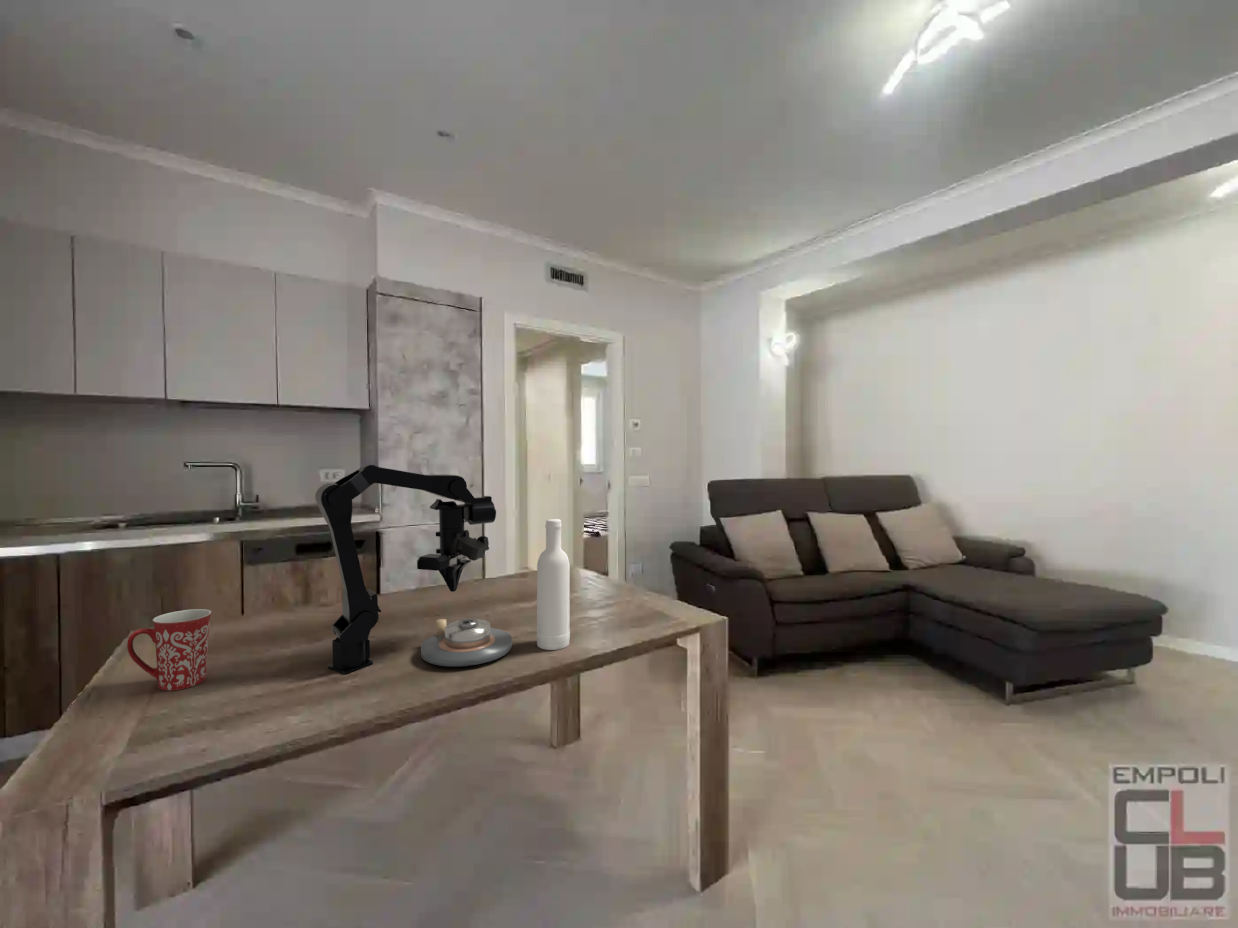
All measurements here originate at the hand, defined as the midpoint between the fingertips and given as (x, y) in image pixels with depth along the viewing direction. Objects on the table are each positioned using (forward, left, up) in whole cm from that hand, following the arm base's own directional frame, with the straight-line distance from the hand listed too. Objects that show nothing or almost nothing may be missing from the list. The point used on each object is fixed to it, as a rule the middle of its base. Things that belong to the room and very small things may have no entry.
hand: (453, 591), depth 126 cm
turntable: (-3, -8, -12) cm, 15 cm away
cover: (-3, -8, -10) cm, 13 cm away
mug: (-44, +30, -13) cm, 55 cm away
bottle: (+11, -22, -13) cm, 27 cm away
